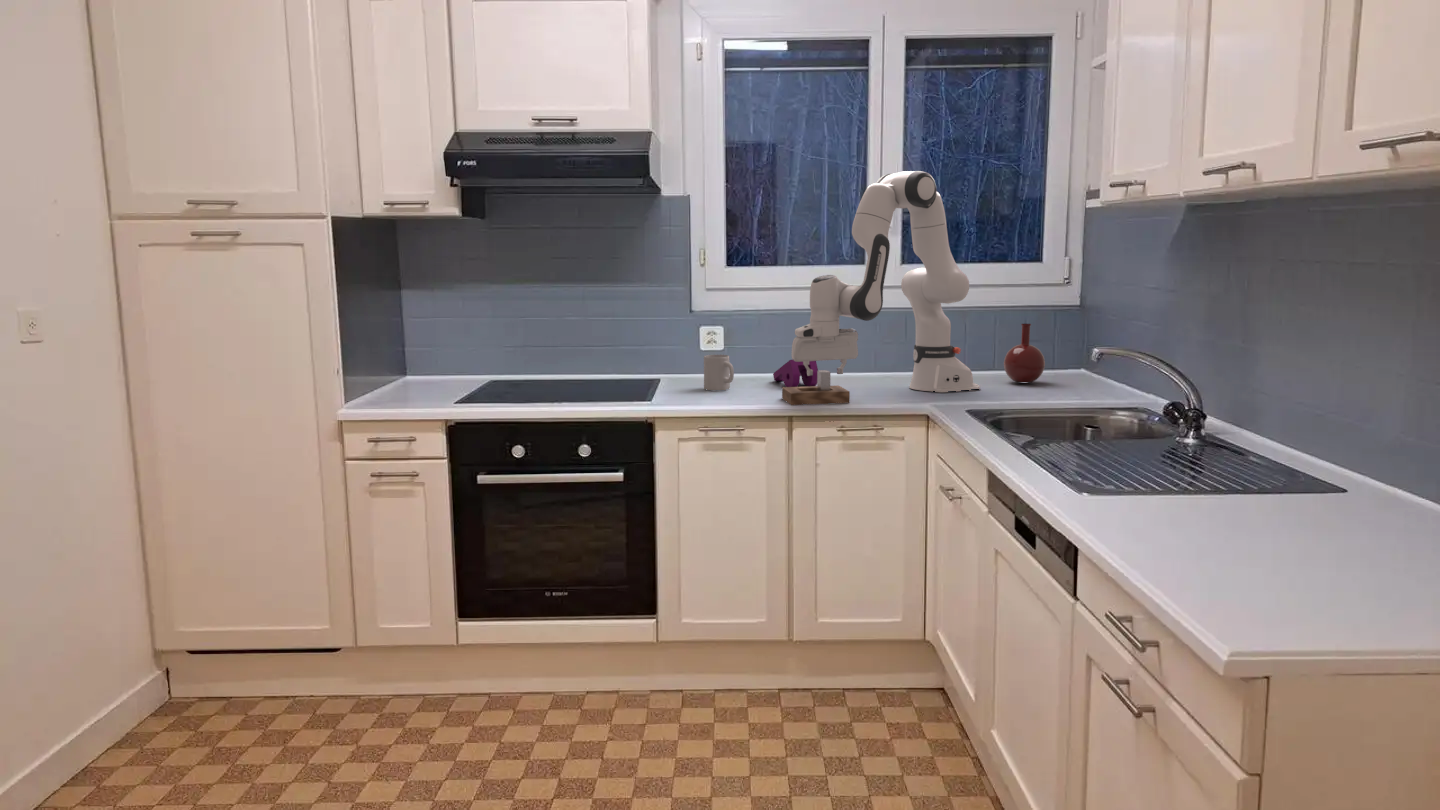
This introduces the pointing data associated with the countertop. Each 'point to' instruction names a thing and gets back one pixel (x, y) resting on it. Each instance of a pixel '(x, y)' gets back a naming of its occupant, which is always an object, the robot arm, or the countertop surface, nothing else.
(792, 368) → the mounting bracket
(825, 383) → the angle bracket
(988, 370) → the countertop surface
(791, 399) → the well block
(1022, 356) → the round-bottom flask
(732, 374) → the mug
